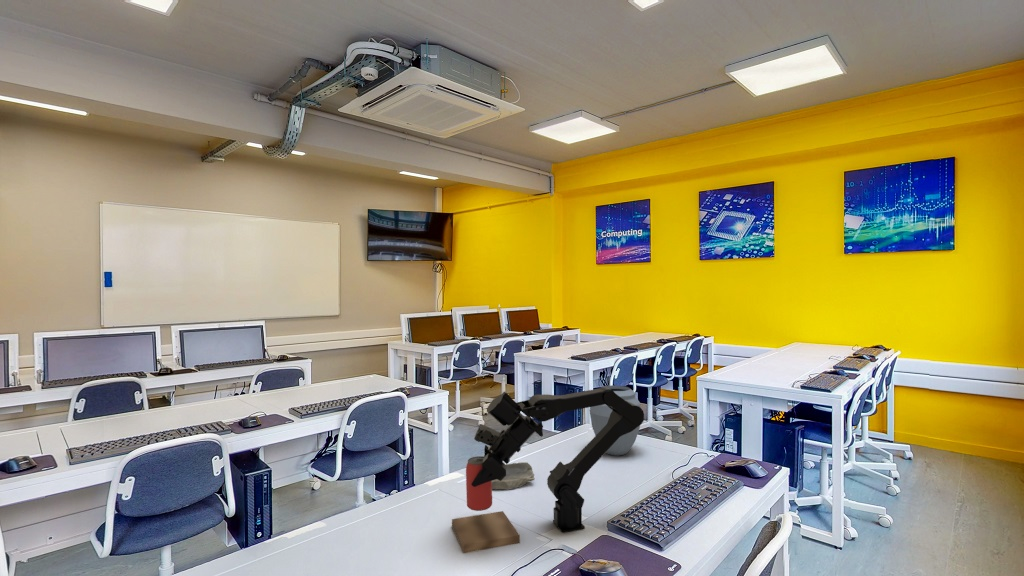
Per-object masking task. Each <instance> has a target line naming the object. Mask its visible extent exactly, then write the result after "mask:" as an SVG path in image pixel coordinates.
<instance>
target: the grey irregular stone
mask: <svg viewBox="0 0 1024 576" xmlns="http://www.w3.org/2000/svg"><path fill="white" fill-rule="evenodd" d="M533 481H535V473H534V471H533V467H532V465H531V464H530V463H528V462H518V463H516V462H514V463H508V464H506V476H505V477H504V478H503V479H502V480H501V481H500V480H498V479H495V480H492V489H495V490H508V491H509V490H513V489H516V488H520V487H522V486H525V485H526V484H527V483H530V482H533Z"/></svg>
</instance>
